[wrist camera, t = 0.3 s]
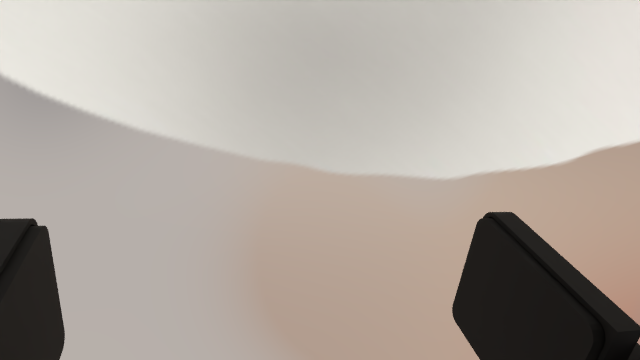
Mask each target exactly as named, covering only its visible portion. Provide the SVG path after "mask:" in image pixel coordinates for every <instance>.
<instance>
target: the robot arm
mask: <svg viewBox="0 0 640 360" xmlns="http://www.w3.org/2000/svg"><path fill="white" fill-rule="evenodd" d="M452 309H453V310H452V311H453V317H454V320H455V322H456V323H457V325H458V326H459V328H460V329H461V331H462V333H463V334H464V336H465V337H466V339H467V340H468V342H469V343H470V345H471V346H472V348H473V349H474V351H475V353H476V354H477V356H478V357H479V359H480V360H640V345H639V344H638V343H637V341H638V339H639V337H640V326H639V325H638V324H637V323H635V321H634V320H632V319H631V318H630V317H629V316H628V315H627V314H626V313H624V312H623V311H622V310H621V309H620V308H619V307H618V306H617V305H616V304H615V303H613V302H612V301H611V300H610V299H609V298H608V297H606V295H605V294H603V293H602V292H601V291H600V290H599V289H597V287H596V286H594V285H593V284H592V283H591V282H590V281H589V280H588V279H587V278H585V277H584V276H583V275H582V274H581V273H580V272H579V271H578V270H576V269H575V268H574V267H573V266H572V265H571V264H570V263H569V262H568V261H567V260H565V259H564V258H563V257H562V256H561V255H560V254H559V253H558V252H557V251H555V250H554V249H553V248H552V247H551V246H550V245H549V244H548V243H546V242H545V241H544V240H543V239H542V238H541V237H540V236H539V235H538V234H536V233H535V232H534V231H533V230H532V229H531V228H530V227H529V226H528V225H526V224H525V223H524V222H523V221H522V220H521V219H520V218H519V217H518V216H516V215H515V214H514V213H512V212H489V213H487V214H485V216H484V217H483V218H482V219H480V220H479V221H478V222H477V225H476V229H475V232H474V235H473V239H472V242H471V245H470V249H469V252H468V255H467V259H466V263H465V266H464V269H463V272H462V276H461V279H460V283H459V286H458V290H457V293H456V296H455V300H454V303H453V308H452ZM64 336H65V333H64V325H63V320H62V313H61V307H60V301H59V294H58V288H57V282H56V276H55V269H54V264H53V257H52V251H51V245H50V238H49V233H48V229H47V227H46V226H38V225H37V222H36V220H34V219H0V360H59V359H60V356H61V353H62V350H63V346H64V338H65V337H64Z"/></svg>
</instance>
